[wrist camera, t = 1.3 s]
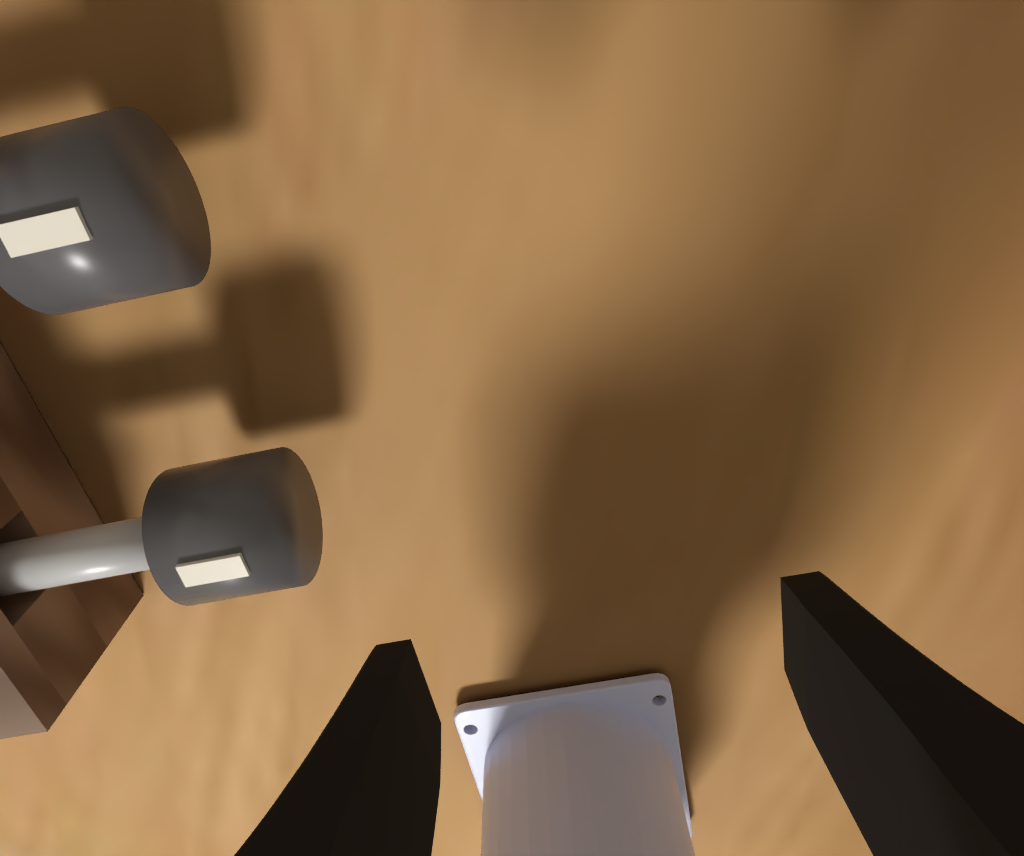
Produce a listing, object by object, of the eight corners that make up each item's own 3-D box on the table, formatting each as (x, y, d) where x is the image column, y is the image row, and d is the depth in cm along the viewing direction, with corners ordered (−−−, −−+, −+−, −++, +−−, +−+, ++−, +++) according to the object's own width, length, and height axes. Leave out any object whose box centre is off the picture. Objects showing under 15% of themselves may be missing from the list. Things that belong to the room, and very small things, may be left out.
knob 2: (332, 531, 20) (298, 619, 17) (55, 582, 21) (-30, 675, 18) (290, 423, 19) (244, 497, 15) (-9, 482, 19) (-113, 564, 16)
